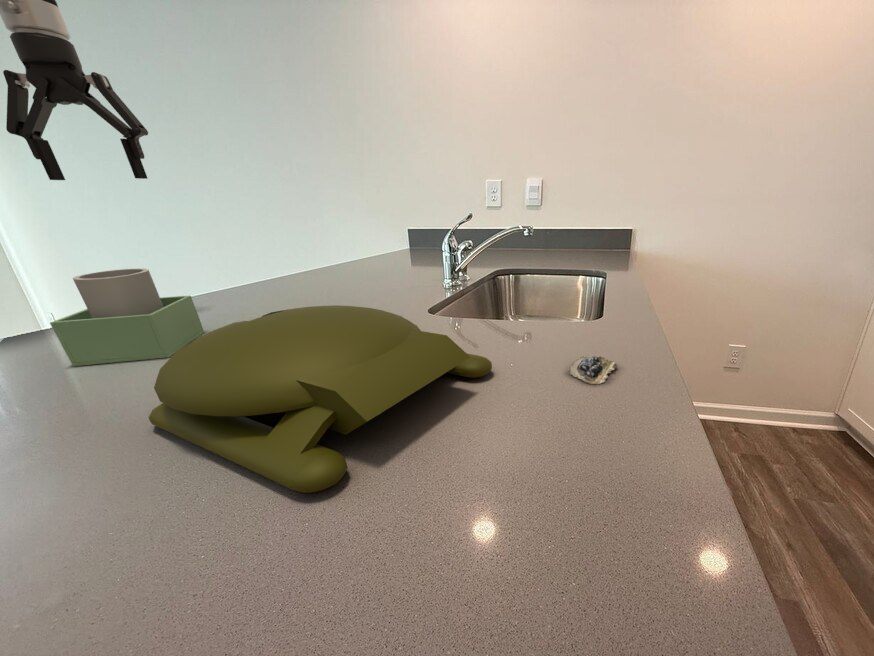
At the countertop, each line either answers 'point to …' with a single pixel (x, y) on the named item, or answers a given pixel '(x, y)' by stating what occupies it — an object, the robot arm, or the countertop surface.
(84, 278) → the cup
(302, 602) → the countertop surface
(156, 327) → the bin
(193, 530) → the countertop surface
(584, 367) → the blueberries
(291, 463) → the spaceship
